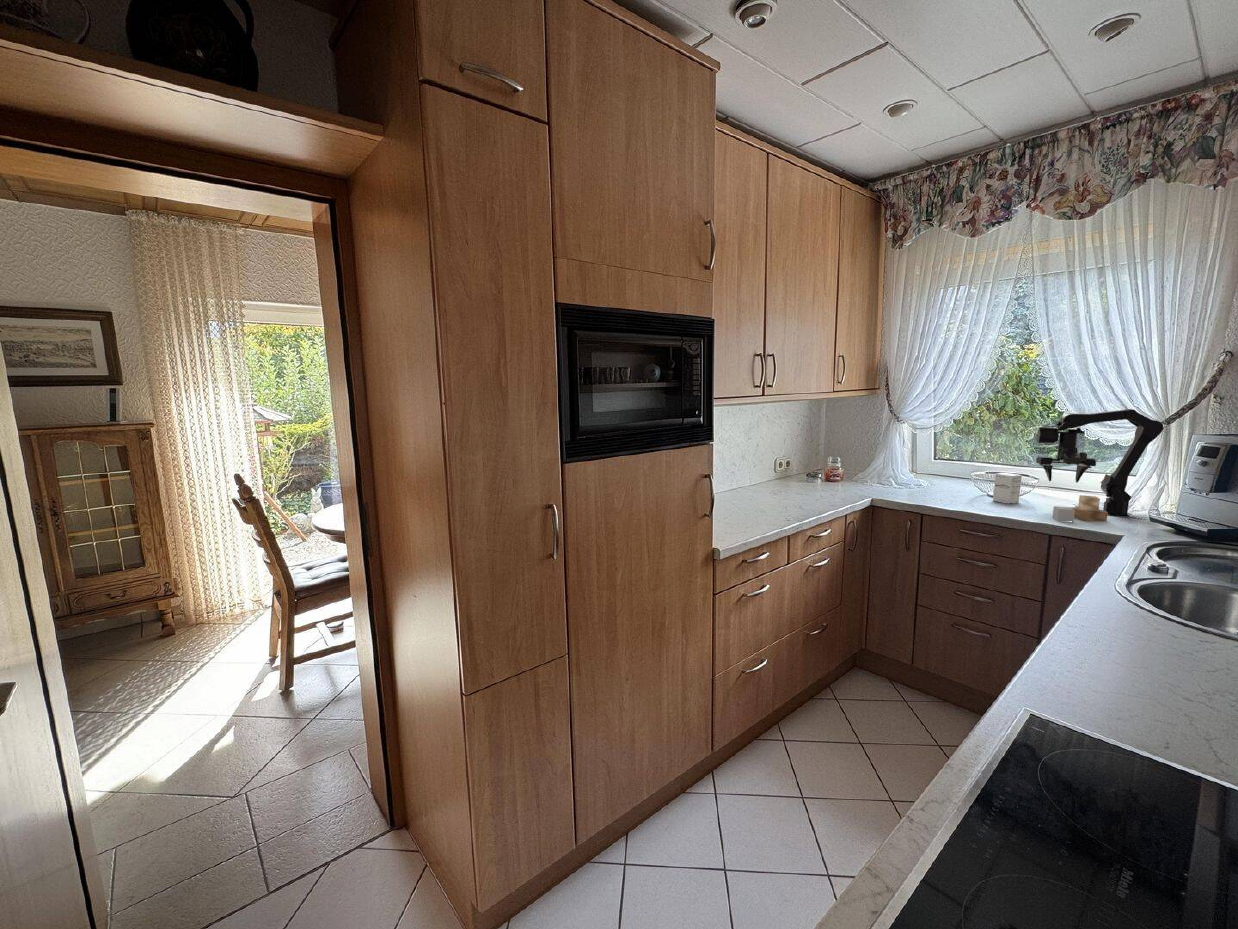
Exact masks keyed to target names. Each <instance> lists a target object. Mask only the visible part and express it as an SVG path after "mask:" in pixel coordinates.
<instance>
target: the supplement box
mask: <svg viewBox="0 0 1238 929" xmlns="http://www.w3.org/2000/svg"><path fill="white" fill-rule="evenodd" d="M994 475H995V476H994V486H993V494H992V495H993V496H992V502H999V503H1002V504H1007V503H1013V504H1018V503H1019V502H1020V494H1021V486H1022V478H1023V477H1022V476H1023V475H1022V474H1017V473H1010V472H999V473H998V472H996V473H995V474H994Z"/></svg>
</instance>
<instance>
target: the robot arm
mask: <svg viewBox="0 0 1238 929" xmlns="http://www.w3.org/2000/svg"><path fill="white" fill-rule="evenodd" d="M1122 420H1126V421H1128V423H1130V424H1132V425H1133V426H1135V427H1136V429H1135V432H1134V437H1133V438H1134V439H1133V441H1132V443H1131V444H1130V445H1129V448H1128V449H1127V451H1126V453H1125V454H1124V456H1123V458H1122V459H1121V461H1120V462H1119V464H1118V465H1117V467H1116V469H1115V470H1114V472H1113V473H1111V474H1107V473H1106V474H1105V475H1104V477H1103V479H1102V481H1100V482H1099V484H1101V485H1100V489H1101V491H1102V492H1103V493H1105V496H1106V498H1105V501H1104V502H1103V509H1102V511H1106V512H1108V514H1107V516H1118V517H1119V516H1120V517H1130V514H1128V510H1129V504H1130V500H1131V499H1132V496H1131V495H1130V494H1129V493H1128V492H1127V491H1126V488H1127V485H1128V479H1129V476H1130V474H1131V472H1132V471H1133V469H1134V468H1135V466H1136V465H1137V463H1138V461H1139V460H1140V458H1141V456H1142V455H1143V453H1144V452H1145V450H1146V449H1147V446H1149V445H1150V443H1152V442H1153V441H1154V440H1155V439H1157V437H1159V435H1160V434H1161V433H1162V432H1163V431H1164V425H1163V423H1162V422H1161V421H1159V420H1156V419H1155V420H1154V419H1150V417H1147V416H1145V415H1143V414H1141V413H1139V412H1138V411H1136V409H1133V408H1125V409H1121V410H1119V409H1118V410H1111V411H1103V412H1102V411H1101V412H1092V413H1076V412H1075V413H1074V412H1073V413H1070V412H1069V413H1068V412H1067V413H1063V414H1062V415H1061V416H1060V418H1059V421H1058V422H1057V423H1056V424H1055V425H1053V426H1052V427H1046V426H1045V427H1044V426H1038V431H1037V433H1036V435H1035V440H1036V441H1035V442H1036V443H1037V444H1049V445H1051V444H1053V445H1054V444H1055V443H1057V442H1058V445H1057V446H1056V448H1057V454H1056V456H1055V458H1053V457H1051V456H1046V455H1045V456H1044V455H1043V456H1040V455H1038V456H1037V457H1036V459H1035V463H1036V464H1039V466H1042V467H1043V469H1044V472H1045V475H1046V477H1047V480H1048V482H1051V481H1052V476H1053V474H1052V473H1053V471H1052V470H1053V466H1054V465H1052V464H1065V465H1076V470H1075V472H1076V473H1075V478H1074V479H1075V483H1079V482H1080V480H1081V478H1082V477H1083V474H1084V473H1085V472H1086V471H1087V470H1088V469H1092V467H1096V466H1097V461H1096V459H1094V458H1091V457H1088V453H1087V452H1085V451H1084V452H1082V451H1081V452H1078V447H1077V442H1078V435H1080V434H1081V435H1082V434H1083V435H1084V434H1085V431H1083V430H1082V429H1081V428H1080V427H1084V426H1087V425H1089V424H1097V423H1104V422H1105V423H1106V422H1114V421H1122Z"/></svg>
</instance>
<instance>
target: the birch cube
mask: <svg viewBox="0 0 1238 929" xmlns="http://www.w3.org/2000/svg"><path fill="white" fill-rule="evenodd" d="M1100 501H1101V498H1099V497H1098V496H1095V495H1085V494H1083V495H1082V494H1081V495H1078V504H1077V507H1078V508H1080V509H1081V510H1087V511H1098V510H1100V504H1101V502H1100Z"/></svg>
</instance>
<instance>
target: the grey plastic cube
mask: <svg viewBox="0 0 1238 929" xmlns="http://www.w3.org/2000/svg"><path fill="white" fill-rule="evenodd" d="M1074 512H1075V510H1074V509H1072V508H1070V506H1059V505H1057V506H1056V505H1054V506H1053V510H1052V517H1051V518H1053V519H1052V520H1054V521H1055V522H1058V521H1072V522H1071V523H1074V521H1075V520H1074V519H1075V518H1074Z"/></svg>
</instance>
